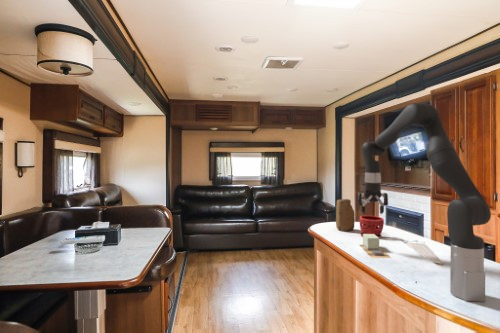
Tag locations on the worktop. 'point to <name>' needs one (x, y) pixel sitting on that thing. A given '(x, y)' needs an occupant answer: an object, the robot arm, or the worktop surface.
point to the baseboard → (425, 252)
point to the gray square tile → (377, 252)
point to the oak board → (373, 254)
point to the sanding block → (370, 241)
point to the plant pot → (371, 225)
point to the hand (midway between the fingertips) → (372, 213)
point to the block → (344, 215)
